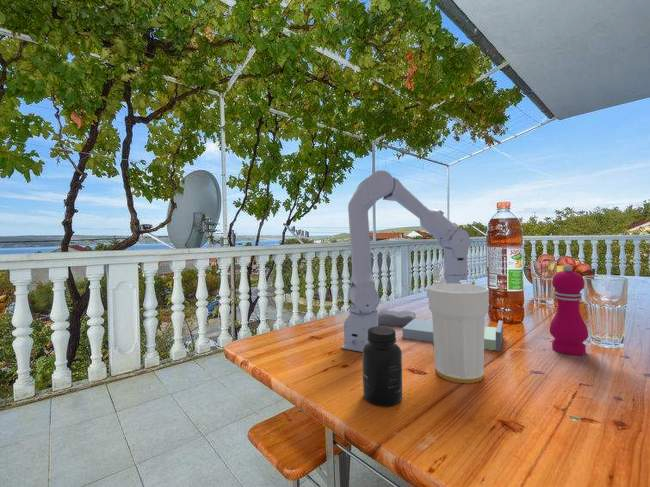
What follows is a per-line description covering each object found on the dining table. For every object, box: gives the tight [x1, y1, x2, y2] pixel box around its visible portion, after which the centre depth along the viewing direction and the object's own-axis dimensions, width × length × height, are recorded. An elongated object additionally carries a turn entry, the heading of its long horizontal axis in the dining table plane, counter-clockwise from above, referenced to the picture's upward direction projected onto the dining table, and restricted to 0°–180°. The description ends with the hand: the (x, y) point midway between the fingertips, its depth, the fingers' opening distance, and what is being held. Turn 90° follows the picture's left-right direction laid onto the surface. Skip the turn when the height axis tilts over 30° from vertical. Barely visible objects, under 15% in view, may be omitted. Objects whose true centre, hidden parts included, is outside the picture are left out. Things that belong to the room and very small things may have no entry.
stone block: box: [378, 309, 417, 327], centre depth 104 cm, size 12×5×10 cm
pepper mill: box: [549, 264, 589, 356], centre depth 76 cm, size 7×7×20 cm
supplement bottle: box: [361, 325, 403, 407], centre depth 57 cm, size 7×7×12 cm
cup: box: [427, 283, 490, 384], centre depth 65 cm, size 11×11×17 cm
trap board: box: [401, 318, 504, 352], centre depth 87 cm, size 24×11×4 cm, turn 59°
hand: (456, 325), depth 87 cm, fingers closed
